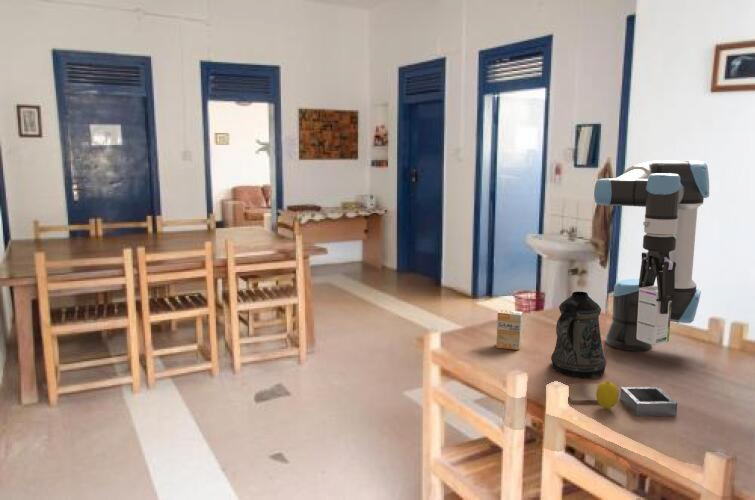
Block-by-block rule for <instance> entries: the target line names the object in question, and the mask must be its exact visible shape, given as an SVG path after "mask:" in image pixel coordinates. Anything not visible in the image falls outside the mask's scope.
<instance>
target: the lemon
mask: <svg viewBox="0 0 755 500" xmlns="http://www.w3.org/2000/svg"><path fill="white" fill-rule="evenodd" d="M598 385H599V386H598V388H597V392H596V398H597V401H598V403H599V404H598V405H600V406H601V407H603V408H604V409H605V410H608V409H612V408H614V407H615V406H616V405H617V404H618V401H619V398H620V395H619V390H618V387H617V385H615V384H614V383H612V382H611V381H610V380H606V381H603V382H601V383H600V384H598Z"/></svg>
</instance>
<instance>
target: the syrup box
mask: <svg viewBox="0 0 755 500" xmlns="http://www.w3.org/2000/svg"><path fill="white" fill-rule="evenodd" d="M656 299H659V296H658V287H657V284H654V285H652V286H648V287H643V288H639V301H638V318H637V336H636V339H637V340H640V341H642V342H645V343H648V344H651V345H652V346H657V345H660V344H664V343H668V342H669V341H670V331H671V329H670V328H671V321H670V317H671V302H672V301H669V306H668V319H667V326H656V325H655V318H656V304H657V301H656Z"/></svg>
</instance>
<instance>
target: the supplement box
mask: <svg viewBox="0 0 755 500" xmlns="http://www.w3.org/2000/svg"><path fill="white" fill-rule="evenodd" d="M523 314H524V313H523V311H517V310H507V309H499V310H497V315H496V316H497V320H496V322H497V324H496V344H495V345H496V348H498V349H506V350H508V349H509V350H516V351H520V349H521V347H522V338H523V337H522V335H523V334H522V333H523V331H522V330H523Z"/></svg>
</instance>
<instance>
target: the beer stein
mask: <svg viewBox="0 0 755 500" xmlns="http://www.w3.org/2000/svg"><path fill="white" fill-rule="evenodd" d="M558 309H559V312H560V315H559V318H558V319H557V322H556V325H555V327H556V328H555V332H556V342H555V346H554V350H553V352H552V354H551V357H550V360H551V364H552V369H553V370H554V371H555V372H556V373H558V374H560V375H563V376H566V377H570V378H575V379H580V380H581V379H582V380H584V379H596V378H600V377H602V376H603V374H605V371H606V366H607V359H606V356H605V352H604V349H603V345H602V344H603V343H602V337H601V327H600V320H599V317H600V314H601V311H602V308H601V306H600V305H599V304H598V303H597V302H596V301H595V300H593V299H592V297H590V296H589V294H588V292H585V291H573V292H572V294H571V295H570V296H569V297H568V298H566V299H565V300H564V301H562V302H561V303H560V304H559V306H558Z"/></svg>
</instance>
